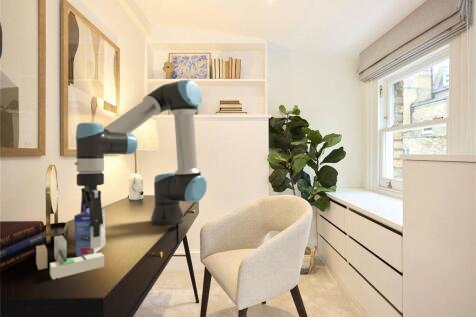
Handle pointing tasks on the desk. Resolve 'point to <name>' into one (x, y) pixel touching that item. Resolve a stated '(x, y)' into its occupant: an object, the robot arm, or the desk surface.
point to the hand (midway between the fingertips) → (91, 243)
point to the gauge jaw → (60, 248)
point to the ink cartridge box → (86, 233)
